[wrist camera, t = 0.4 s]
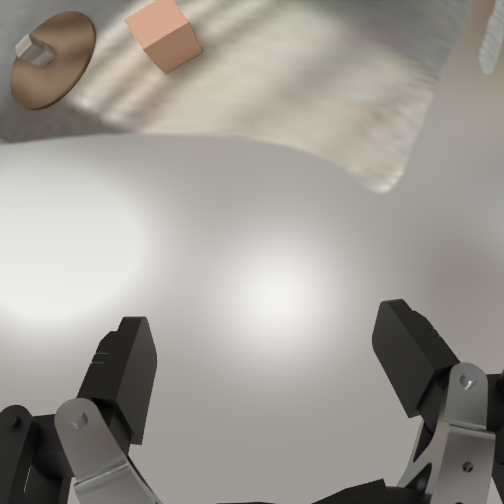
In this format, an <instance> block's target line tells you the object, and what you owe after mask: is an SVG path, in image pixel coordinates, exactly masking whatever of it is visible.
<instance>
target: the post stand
mask: <svg viewBox="0 0 504 504" xmlns="http://www.w3.org/2000/svg"><path fill="white" fill-rule="evenodd" d="M94 46H95V29H94V26H93V24H92V22H91V21H90V20H89V19H88V18H87V17H86V16H85V15H83V14H82V13H79V12H64V13H61V14H58V15H55V16H53V17H51V18H50V19H48V20H47V21H45V22H44V23H42V24H41V25H40V26H39V27H38V28H37V29H35V30H34V31H33V33H32V34H31V35H30V34H29V33H28V34H27V35H26V36H25V37H24V38H23V39H22V40H21V41H20V42H19V43H18V44H17V45H16V46H15V48H16V52H17V57H16V59H15V62H14V65H13V68H12V72H11V81H10V84H11V92H12V95H13V97H14V99H15V101H16V102H17V103H18V104H19V105H20V106H22V107H25V108H29V109H41V108H45V107H48V106H50V105H52V104H53V103H55V102H57V101H58V100H59V99H61V98H62V97H63V96H64V95H65V94H67V93H68V92H69V91H70V90H71V88H72V87H73V86H74V85H75V84H76V83H77V81H78V80H79V79H80V77H81V76H82V74H83V73H84V71H85V69H86V67H87V66H88V63H89V61H90V59H91V56H92V54H93V50H94Z"/></svg>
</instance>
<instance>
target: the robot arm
mask: <svg viewBox="0 0 504 504" xmlns="http://www.w3.org/2000/svg"><path fill="white" fill-rule="evenodd" d="M372 345H373V349H374V352H375V353H376V356H377V357H378V359H379V361H380V363H381V365H382V367H383V369H384V371H385V373H386V374H387V376H388V378H389V380H390V382H391V384H392V386H393V388H394V390H395V392H396V394H397V396H398V398H399V400H400V401H401V404H402V406H403V408H404V410H405V412H406V414H407V416H408V418H412V417H415V416H418V415H421V416H422V418H423V420H422V422H421V423H420V426H419V430H418V433H417V437H416V440H415V444H414V447H413V450H412V454H411V457H410V460H409V463H408V466H407V468H406V470H405V472H404V474H403V476H402V477H401V479H400V480H399V482H398V484H397V486H396V487H391V486H390V487H389V486H387V487H386V486H385V483H384V480H383V479H380V480H376V481H373V482H369V483H366V484H362V485H358V486H354V487H350V488H346V489H344V490H342V491H340V492H338V493H335V494H333V495H331V496H329V497H326V498H324V499H322V500H319V501H317V502H315V503H312V504H486V502H487V497H488V492H489V487H490V480H491V476H492V478H493V480H494V482H495V484H496V488H497V490H498V492H499V495H500V498H501V500H502V503H503V504H504V370H503V372H502V373H501V374H488V375H485V373H484V372H483V370H482V369H480V368H479V367H478V366H476V365H474V364H471V363H461V362H460V361H459V360H458V358H457V357H456V356H455V354H454V353H453V352H452V350H451V349H450V348H449V346H448V345H447V344H446V343H445V341H444V340H443V339H442V337H439V334H438V332H437V331H436V330H435V329H433V326H432V325H431V324H430V322H429V321H428V320H427V319H426V318H425V317H424V316H422V315H421V314H419V313H418V312H416V311H412V310H411V308H410V307H409V306H408V305H407V303H406V302H405V301H404V300H403V299H396V300H389V301H383V302H381V304H380V307H379V311H378V315H377V319H376V323H375V327H374V331H373V335H372ZM156 368H157V354H156V349H155V345H154V342H153V338H152V335H151V331H150V327H149V323H148V320H147V318H146V317H123V319H122V321H121V323H120V325H119V328H118V330H117V331H110V332H109V333H108V334H107V335H106V336H105V337H104V338H103V339H102V340H101V341H100V343H99V346H98V348H97V350H96V354H95V355H94V357H93V359H92V364H90V366H89V368H88V371H87V373H86V376H85V378H84V380H83V383H82V385H81V388H80V390H79V393H78V395H77V397H76V398H75V399H71V400H68V401H66V402H65V403H63V404H62V405H61V406H60V407H59V408H58V410H57V412H56V414H51V415H42V416H32V415H31V414H30V413H29V411H28V410H27V409H26V408H25V407H23V406H20V405H12V406H9V407H7V408H5V409H4V410H3V411H2V412H1V413H0V504H67V501H68V495H69V489H70V483H71V478H72V477H76V480H77V483H76V484H74V489H75V493H76V495H77V497H78V499H79V501H80V503H81V504H163V503H162V502H161V501H160V500H159V498H158V497H157V496H156V494H155V493H154V492H153V490H152V489H151V487H150V486H149V484H148V483H147V482H146V480H145V479H144V477H143V476H142V475H141V473H140V471H139V470H138V469H137V467H136V465H135V464H134V462H133V461H132V459H131V458H130V456H129V455H128V452H129V447H130V444H136V445H142V439H143V434H144V428H145V423H146V417H147V411H148V406H149V401H150V397H151V392H152V387H153V382H154V378H155V373H156ZM30 467H31V468H30ZM29 468H30V472H29ZM28 472H29V476H28ZM27 476H28V479H27ZM26 480H27V483H26ZM25 484H26V487H25ZM24 488H25V492H24ZM220 504H221V503H220ZM223 504H273V503H264V502H250V503H223Z"/></svg>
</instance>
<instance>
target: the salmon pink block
mask: <svg viewBox="0 0 504 504" xmlns="http://www.w3.org/2000/svg"><path fill="white" fill-rule="evenodd" d="M124 21H125V22H126V24H127V25H128V27H129V28H130V30H131V32H132V33H133V35H134V36H135V38H136V40H137V41H138V43H139V44H140V46H141V47H142V49H143V50H144V51H145V53H146V54H147V55H148V56H149V57H150V58H151V59H152V60H153V61H154V63H155V64H156V65H157V66H158V67H159V68H160V69H161V70H162V71H163V73H164V74H166V73H168V72H170V71H171V70H173V69H174V68H176V67H178V66H179V65H181V64H183V63H184V62H186V61H188V60H189V59H191V58H193V57H195V56H196V55H198V54H200V53H202V50H201V48H200V46H199V43H198V41H197V39H196V36H195V34H194V32H193V30H192V27H191V25H190V23H189V21H188V20H187V19H186V17H185V16H184V15H183V13H182V12H181V11H180V9H179V8H178V7H177V6H176V4H175V3H174V2H173V0H156V1H154V2H152V3H150V4H149V5H147V6H145V7H144V8H142V9H141V10H139V11H137V12H136V13H134V14H133V15H131V16H130V17H128V18H127V19H125V20H124Z"/></svg>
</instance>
